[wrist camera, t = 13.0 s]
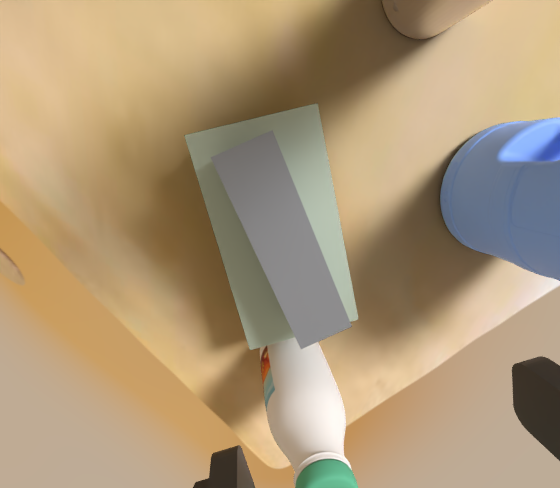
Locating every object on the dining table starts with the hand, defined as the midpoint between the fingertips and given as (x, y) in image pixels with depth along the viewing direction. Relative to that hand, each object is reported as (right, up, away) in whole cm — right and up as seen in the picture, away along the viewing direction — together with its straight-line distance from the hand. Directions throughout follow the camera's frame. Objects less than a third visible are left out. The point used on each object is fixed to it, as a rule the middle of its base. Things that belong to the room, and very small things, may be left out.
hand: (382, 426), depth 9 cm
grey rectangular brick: (-3, +6, +22) cm, 23 cm away
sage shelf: (-4, +8, +29) cm, 30 cm away
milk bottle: (-2, -8, +33) cm, 34 cm away
